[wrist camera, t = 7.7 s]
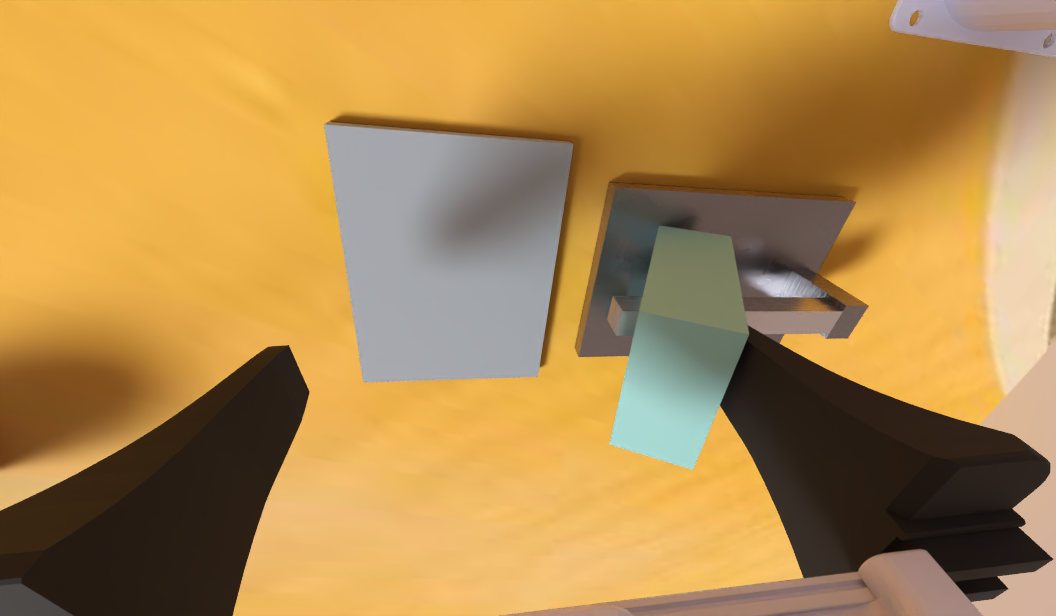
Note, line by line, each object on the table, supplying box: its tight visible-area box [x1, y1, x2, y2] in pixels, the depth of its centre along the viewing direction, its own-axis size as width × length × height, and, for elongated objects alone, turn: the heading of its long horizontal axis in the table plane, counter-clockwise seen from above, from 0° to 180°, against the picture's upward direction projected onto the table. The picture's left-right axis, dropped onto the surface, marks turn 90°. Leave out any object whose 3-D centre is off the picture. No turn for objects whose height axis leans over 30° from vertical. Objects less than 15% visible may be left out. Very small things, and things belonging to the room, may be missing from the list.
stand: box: [575, 182, 868, 357], centre depth 19 cm, size 12×9×4 cm
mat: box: [324, 122, 573, 382], centre depth 18 cm, size 9×12×1 cm
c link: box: [610, 226, 749, 470], centre depth 16 cm, size 3×6×8 cm, turn 178°
